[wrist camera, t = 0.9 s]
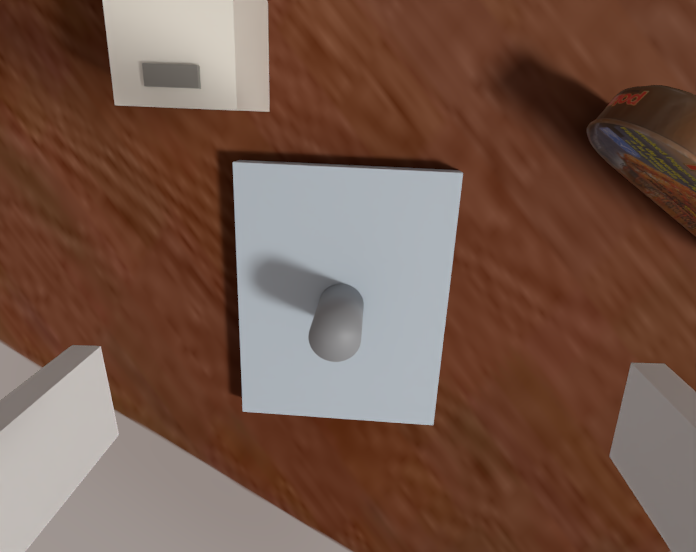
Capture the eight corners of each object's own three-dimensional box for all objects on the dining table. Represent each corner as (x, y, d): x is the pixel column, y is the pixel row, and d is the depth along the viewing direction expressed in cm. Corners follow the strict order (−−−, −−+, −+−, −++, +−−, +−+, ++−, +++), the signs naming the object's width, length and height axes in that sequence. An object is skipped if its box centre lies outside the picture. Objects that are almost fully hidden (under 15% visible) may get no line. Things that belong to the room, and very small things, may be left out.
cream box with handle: (166, -2, 27) (94, -42, 20) (268, 1, 27) (229, -38, 20) (174, 107, 29) (111, 104, 22) (269, 111, 29) (235, 110, 22)
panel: (239, 159, 30) (203, 171, 24) (459, 170, 29) (480, 184, 23) (248, 399, 36) (220, 458, 30) (430, 412, 35) (442, 475, 29)
